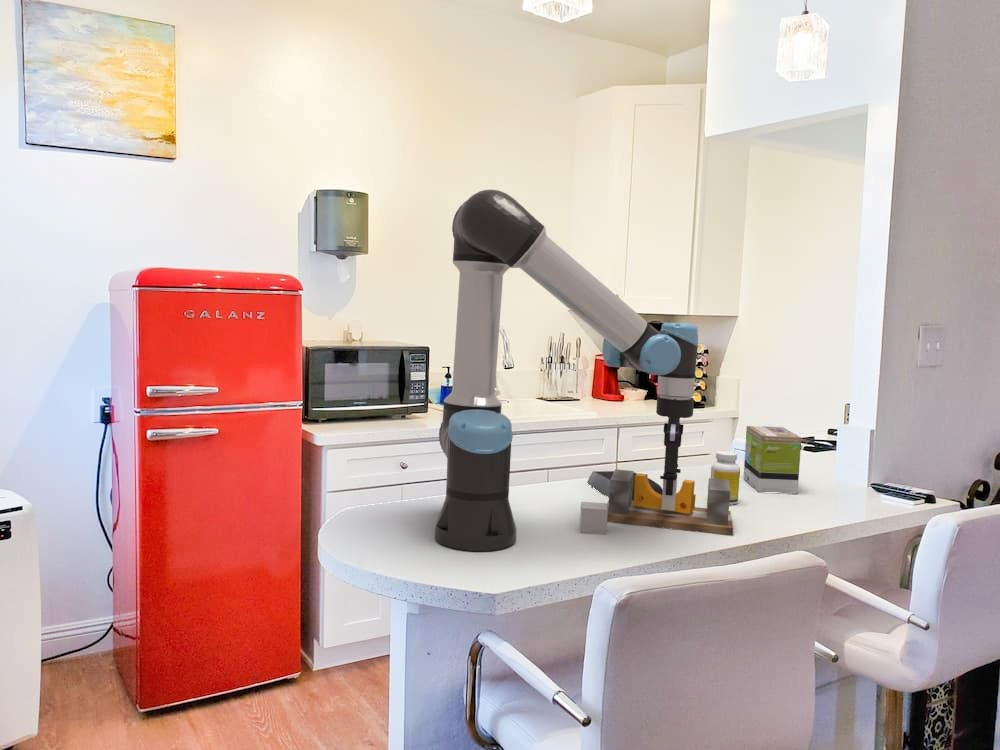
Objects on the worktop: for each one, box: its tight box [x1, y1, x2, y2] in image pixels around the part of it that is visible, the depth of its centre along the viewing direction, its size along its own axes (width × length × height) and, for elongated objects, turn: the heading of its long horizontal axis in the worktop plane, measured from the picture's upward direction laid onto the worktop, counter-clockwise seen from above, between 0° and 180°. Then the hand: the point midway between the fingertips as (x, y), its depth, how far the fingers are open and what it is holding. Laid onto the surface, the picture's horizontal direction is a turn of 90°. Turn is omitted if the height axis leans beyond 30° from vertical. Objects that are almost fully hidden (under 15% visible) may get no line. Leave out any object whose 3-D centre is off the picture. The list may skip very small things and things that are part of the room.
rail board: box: [606, 469, 734, 536], centre depth 167 cm, size 26×14×8 cm, turn 76°
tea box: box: [743, 425, 802, 495], centre depth 203 cm, size 15×10×15 cm, turn 178°
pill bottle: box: [710, 450, 741, 506], centre depth 185 cm, size 6×6×12 cm
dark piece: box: [586, 470, 663, 501], centre depth 191 cm, size 13×19×4 cm
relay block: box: [579, 501, 608, 535], centre depth 157 cm, size 5×5×5 cm
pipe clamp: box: [634, 472, 697, 514], centre depth 168 cm, size 12×4×6 cm, turn 64°
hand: (668, 506), depth 168 cm, fingers closed on pipe clamp, 5 cm apart
